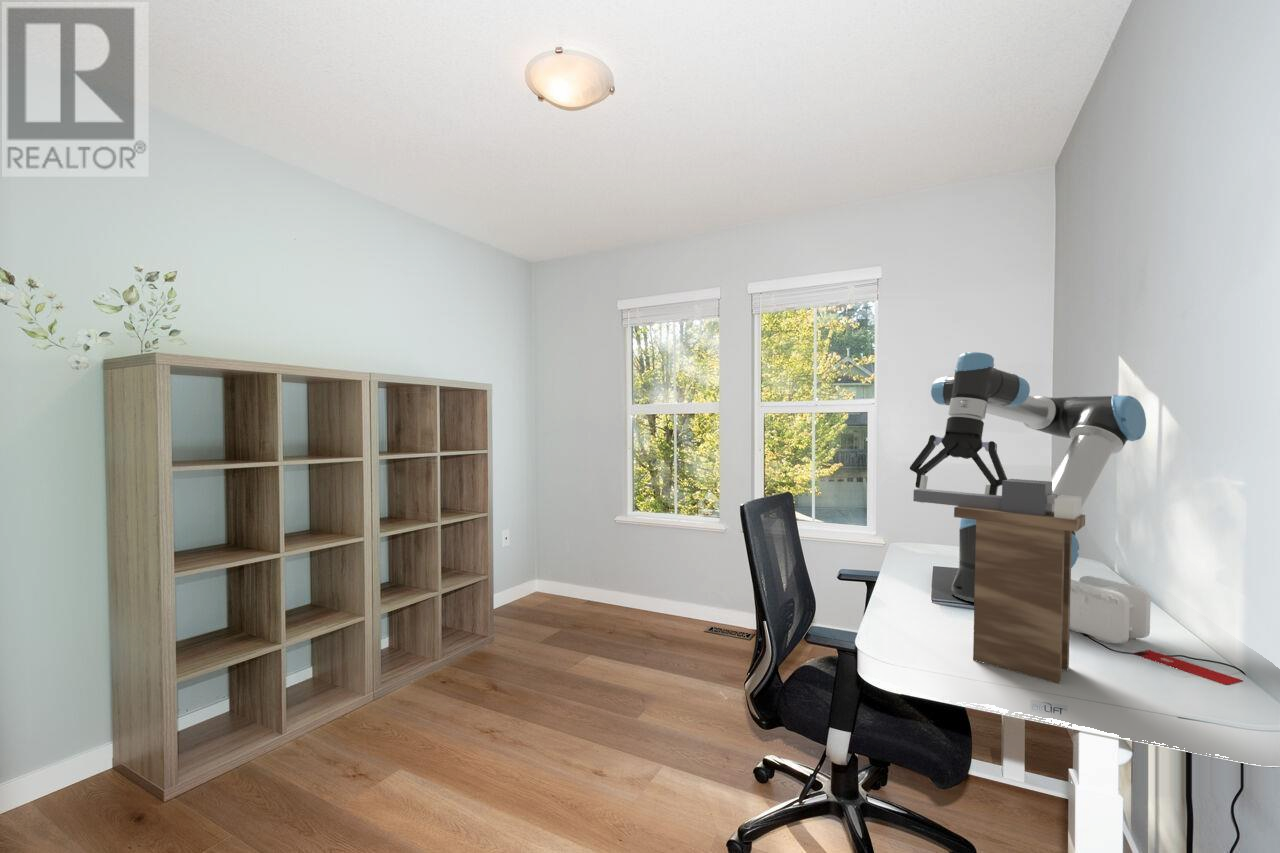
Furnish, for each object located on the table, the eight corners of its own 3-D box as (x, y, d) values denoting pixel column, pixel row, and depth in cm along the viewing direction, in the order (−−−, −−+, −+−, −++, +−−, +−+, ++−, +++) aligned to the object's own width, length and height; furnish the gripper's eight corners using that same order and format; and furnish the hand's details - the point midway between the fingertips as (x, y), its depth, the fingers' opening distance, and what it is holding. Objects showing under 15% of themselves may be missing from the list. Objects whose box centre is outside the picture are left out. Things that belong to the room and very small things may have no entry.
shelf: (965, 641, 123) (968, 502, 123) (1081, 670, 109) (1085, 514, 109) (951, 653, 116) (954, 507, 116) (1073, 687, 102) (1076, 520, 102)
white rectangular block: (1060, 512, 111) (1061, 494, 111) (1081, 514, 109) (1081, 496, 109) (1053, 517, 105) (1053, 498, 105) (1074, 519, 103) (1074, 500, 103)
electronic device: (1244, 683, 106) (1149, 652, 120) (1244, 680, 106) (1149, 649, 120) (1226, 687, 104) (1131, 655, 118) (1226, 684, 104) (1131, 652, 118)
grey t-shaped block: (922, 499, 128) (922, 472, 128) (1059, 513, 111) (1060, 482, 111) (910, 501, 123) (911, 474, 123) (1052, 516, 106) (1053, 484, 106)
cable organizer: (1155, 644, 124) (1156, 591, 123) (1121, 649, 120) (1122, 594, 120) (1082, 621, 138) (1083, 573, 138) (1050, 625, 135) (1052, 576, 134)
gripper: (905, 411, 139) (890, 496, 138) (1026, 420, 122) (1011, 518, 121) (914, 416, 145) (901, 499, 143) (1031, 426, 128) (1017, 520, 126)
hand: (951, 508), depth 132 cm, fingers open, 13 cm apart
